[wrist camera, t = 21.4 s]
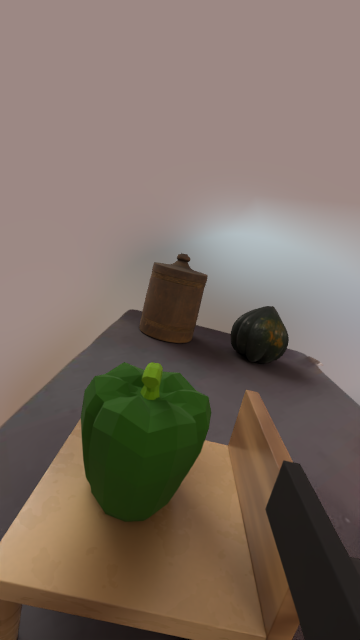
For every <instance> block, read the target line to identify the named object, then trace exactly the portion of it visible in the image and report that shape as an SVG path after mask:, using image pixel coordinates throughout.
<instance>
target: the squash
mask: <svg viewBox="0 0 360 640" xmlns="http://www.w3.org/2000/svg"><path fill="white" fill-rule="evenodd" d="M231 344H232V347H233V348H234V349H235V350H236V351H237V352H239V353H242V354H246V356H247V358H248V360H249V361H251V362H256V361H259V362H260V363H269V362H271V361H273V360H277V359H278V358H280V357H281V356H282V355H283V354H284V352H285V351H286V348H287V346H288V334H287V331H286V328H285V326H284V324H283V323H282V321H281V319H280V317H279V315H278V312H277V311H276V309H275V308H274V307H273V306H272V307H270V306H266V307H262V308H258V309H255V310H252V311H250V312H247V313H245V314H244V315H242V316H241V317H239V318H238V319H237V320H236V322H235V323H234V325H233V327H232V331H231Z"/></svg>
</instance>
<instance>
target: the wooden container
mask: <svg viewBox="0 0 360 640" xmlns="http://www.w3.org/2000/svg"><path fill="white" fill-rule="evenodd" d="M177 259H178V261H176V262H175V263H173V264H163V263H154V265H153V269H152V270H153V271H152V275H151V278H150V283H149V287H148V291H147V294H146V298H145V303H144V308H143V312H142V317H141V322H140V327H139V328H140V330H141V331H142V332H143V333H145V334H146V335H148V336H151V337H153V338H156V339H159V340H163V341H167V342H173V343H186V342H189V341H191V340H192V336H193V332H194V328H195V325H196V320H197V317H198V313H199V308H200V304H201V299H202V295H203V291H204V287H205V283H206V281H207V275H206V274H203V273H199V272H197V271H194V270H192V269H191V268H190V267H189V265H188V262H189V261H190V258H189V257H188V255H186V254H179V255H178V256H177Z"/></svg>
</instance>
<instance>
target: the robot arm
mask: <svg viewBox="0 0 360 640" xmlns="http://www.w3.org/2000/svg"><path fill="white" fill-rule="evenodd" d="M265 510H266V514H267V517H268V520H269V523H270V527H271V530H272V533H273V536H274V540H275V543H276V546H277V550H278V553H279V556H280V559H281V563H282V566H283V569H284V573H285V576H286V579H287V582H288V586H289V589H290V592H291V596H292V599H293V602H294V605H295V609H296V612H297V615H298V619H299V622H300V625H301V628H302V632H303V635H304V638H305V640H360V559H357V558H352V557H349V555H348V553H347V551H346V549H345V547H344V546H343V544H342V542H341V540H340V538H339V536H338V534H337V532H336V531H335V529H334V527H333V525H332V523H331V521H330V519H329V517H328V516H327V514H326V512H325V510H324V508H323V506H322V504H321V502H320V501H319V499H318V497H317V495H316V493H315V491H314V489H313V488H312V486H311V484H310V482H309V480H308V478H307V476H306V474H305V473H304V471H303V469H302V467H301V465H300V464H298V463H294V462H289V461H285V460H283V463H282V466H281V468H280V471H279V474H278V476H277V479H276V482H275V484H274V487H273V490H272V492H271V495H270V498H269V500H268V503H267V506H266V508H265Z"/></svg>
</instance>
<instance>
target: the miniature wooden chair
mask: <svg viewBox="0 0 360 640" xmlns="http://www.w3.org/2000/svg"><path fill="white" fill-rule="evenodd" d="M283 460H285V461H289V462H293V461H292V459H291V457H290V455H289V453H288V451H287V449H286V447H285V445H284V443H283V441H282V439H281V437H280V435H279V433H278V431H277V429H276V427H275V425H274V423H273V421H272V419H271V417H270V415H269V413H268V411H267V409H266V407H265V405H264V403H263V401H262V399H261V397H260V395H259V393H257V392H253V391H249V390H246V391H245V394H244V398H243V401H242V404H241V407H240V410H239V413H238V416H237V420H236V423H235V426H234V429H233V432H232V435H231V438H230V442H229V445H228V446H227V445H223V444H218V443H214V442H209V441H204V444H203V447H202V450H201V453H200V454H199V456H198V458H197V459H196V461H195V463H194V464H193V466H192V468H191V469H190V471H189V473H188V474H187V475H186V477H185V478H184V480H183V481H182V483H181V485H180V486H179V488H178V490H177V491H176V493H175V494H174V495H173V497H172V498H171V500H170V501H169V503H168V504H167V505H165V506H164V507H163V508H161V509H160V510H159V511H157V512H156V513H155V514H153V515H152V516H151V517H149V518H148V519H146V520H144V521H132V522H124V521H122V520H119V519H117V518H114V517H112V516H110V515H107V514H105V512H104V511H103V509H102V508H101V506H100V505H99V503H98V502H97V500H96V499H95V497H94V496H93V494H92V493H91V486H90V484H89V482H88V481H87V479H86V475H85V469H84V462H83V449H82V434H81V419H80V421H79V422H78V424H77V425H76V427H75V428H74V430H73V431H72V433H71V434H70V436H69V437H68V439H67V440H66V442H65V443H64V445H63V447H62V448H61V450H60V451H59V453H58V454H57V456H56V457H55V459H54V460H53V462H52V463H51V465H50V466H49V468H48V470H47V471H46V473H45V474H44V476H43V477H42V479H41V480H40V482H39V483H38V485H37V486H36V488H35V489H34V491H33V492H32V494H31V496H30V497H29V499H28V500H27V502H26V503H25V505H24V506H23V508H22V509H21V511H20V512H19V514H18V515H17V517H16V519H15V520H14V522H13V523H12V525H11V526H10V528H9V529H8V531H7V532H6V534H5V535H4V537H3V538H2V540H1V541H0V640H17V637H18V630H19V623H20V616H21V609H22V604H25V605H30V606H34V607H39V608H44V609H49V610H53V611H58V612H63V613H68V614H73V615H77V616H82V617H87V618H92V619H96V620H101V621H106V622H111V623H115V624H120V625H125V626H130V627H135V628H139V629H144V630H149V631H154V632H158V633H163V634H168V635H173V636H177V637H182V638H187V639H192V640H292V639H293V636H294V634H295V632H296V630H297V628H298V626H299V624H300V622H299V619H298V615H297V612H296V609H295V605H294V602H293V599H292V596H291V592H290V589H289V586H288V582H287V579H286V576H285V573H284V569H283V566H282V563H281V559H280V556H279V553H278V550H277V546H276V543H275V540H274V536H273V533H272V530H271V527H270V523H269V520H268V517H267V514H266V510H265V508H266V506H267V503H268V500H269V498H270V495H271V492H272V490H273V487H274V484H275V482H276V479H277V476H278V474H279V471H280V468H281V466H282V463H283Z"/></svg>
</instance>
